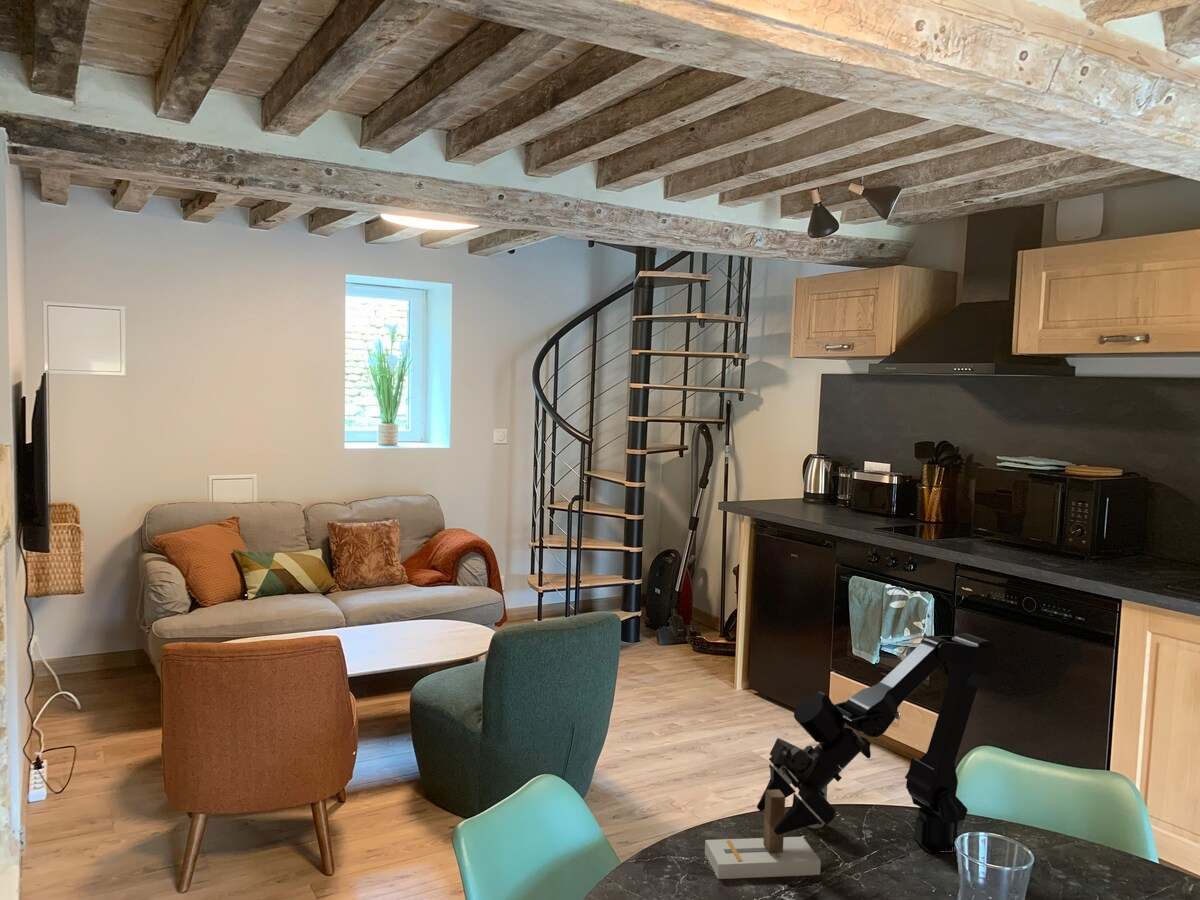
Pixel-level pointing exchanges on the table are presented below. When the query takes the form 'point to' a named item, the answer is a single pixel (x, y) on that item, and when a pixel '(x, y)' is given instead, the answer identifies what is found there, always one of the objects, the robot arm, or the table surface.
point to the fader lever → (773, 820)
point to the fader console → (761, 858)
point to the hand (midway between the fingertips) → (766, 820)
